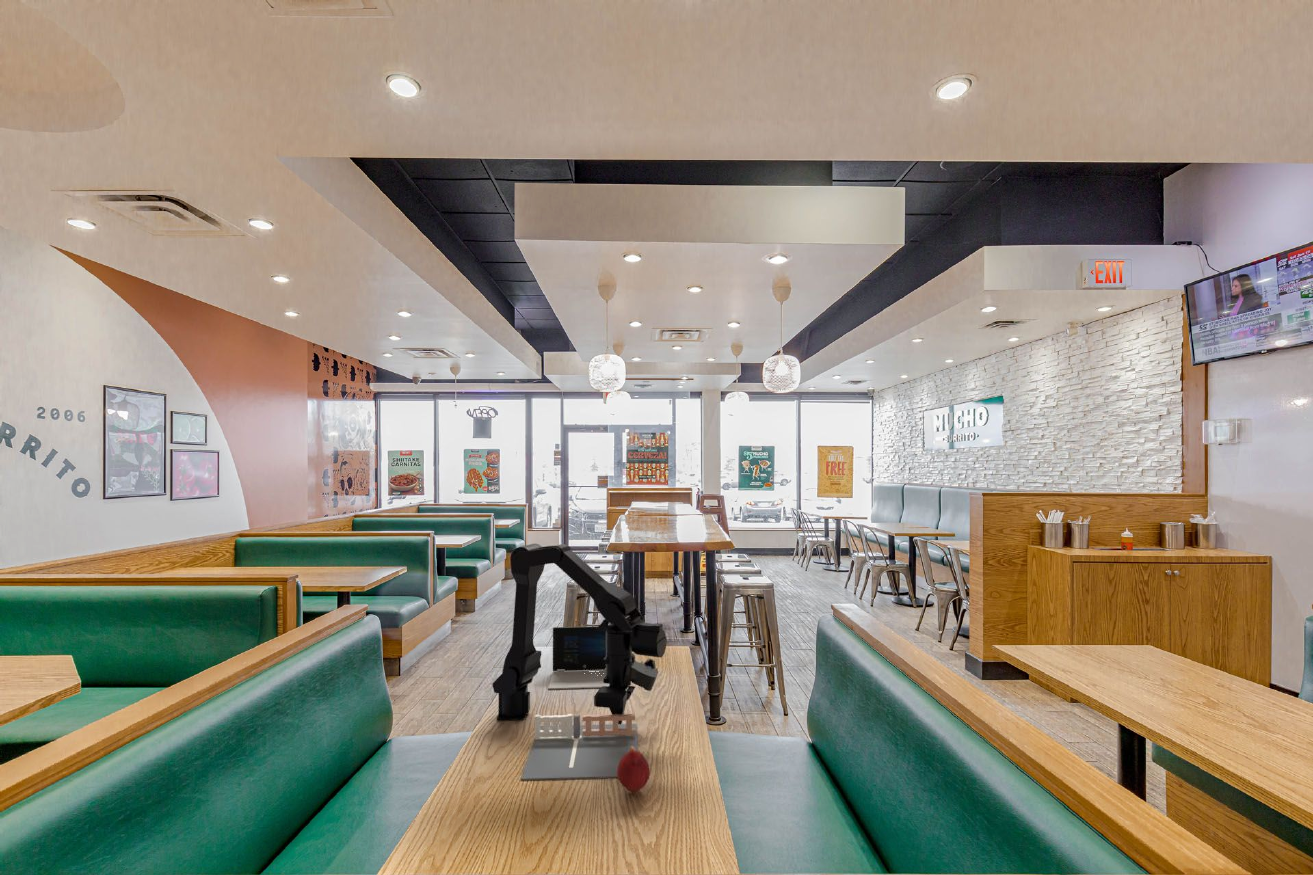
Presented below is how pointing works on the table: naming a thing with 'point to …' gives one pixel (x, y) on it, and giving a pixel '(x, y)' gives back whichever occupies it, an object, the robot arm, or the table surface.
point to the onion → (633, 771)
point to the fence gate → (602, 731)
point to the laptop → (578, 658)
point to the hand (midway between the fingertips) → (619, 723)
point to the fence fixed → (554, 726)
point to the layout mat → (578, 755)
